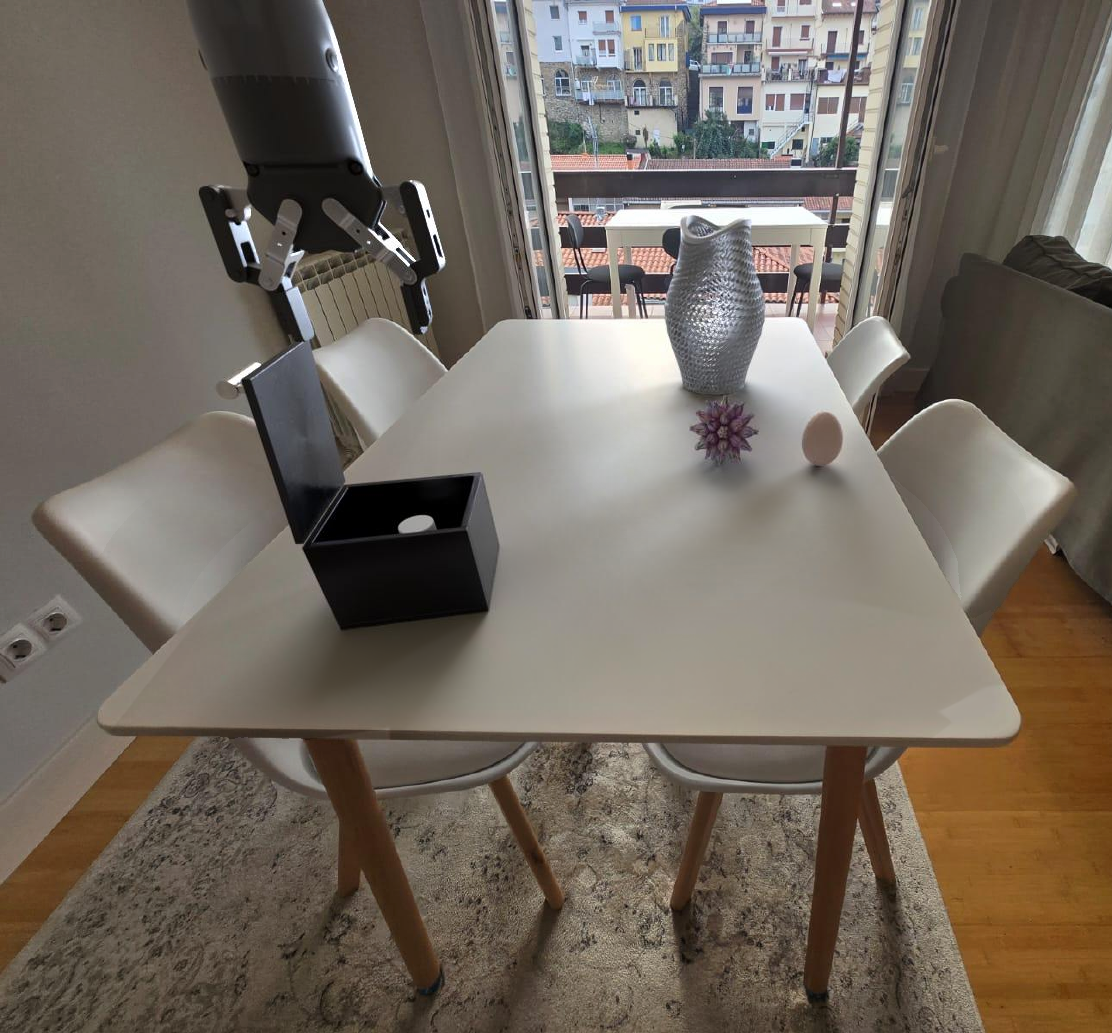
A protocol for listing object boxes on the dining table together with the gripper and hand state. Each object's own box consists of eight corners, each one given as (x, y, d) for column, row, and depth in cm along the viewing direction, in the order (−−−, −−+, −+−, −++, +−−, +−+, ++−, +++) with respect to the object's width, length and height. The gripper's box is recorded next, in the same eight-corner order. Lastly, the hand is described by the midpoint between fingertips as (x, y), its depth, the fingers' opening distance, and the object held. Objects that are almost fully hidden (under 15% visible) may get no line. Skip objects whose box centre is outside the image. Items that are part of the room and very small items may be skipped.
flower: (762, 475, 98) (704, 478, 92) (727, 446, 107) (672, 447, 101) (780, 412, 93) (719, 412, 87) (741, 387, 101) (684, 385, 96)
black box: (499, 546, 79) (482, 471, 72) (489, 611, 68) (467, 530, 61) (373, 560, 76) (343, 484, 70) (340, 630, 65) (301, 547, 59)
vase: (653, 395, 127) (645, 221, 108) (682, 364, 145) (680, 210, 126) (750, 405, 122) (759, 223, 103) (768, 372, 139) (779, 212, 120)
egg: (844, 472, 96) (853, 418, 90) (805, 475, 95) (812, 421, 90) (831, 454, 101) (838, 403, 96) (794, 456, 101) (800, 405, 95)
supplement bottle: (449, 563, 74) (432, 509, 70) (458, 582, 71) (441, 526, 66) (410, 575, 72) (391, 520, 68) (418, 596, 69) (397, 539, 64)
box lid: (308, 337, 60) (254, 335, 59) (250, 379, 49) (182, 377, 48) (345, 481, 70) (299, 481, 69) (303, 544, 58) (248, 545, 57)
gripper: (412, 83, 40) (464, 319, 49) (188, 81, 38) (285, 329, 46) (384, 69, 34) (450, 343, 42) (113, 67, 31) (241, 356, 40)
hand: (363, 336), depth 44 cm, fingers open, 8 cm apart
